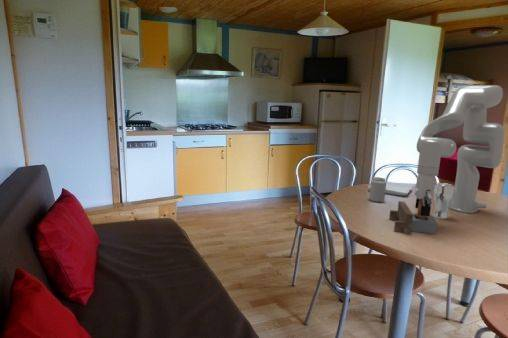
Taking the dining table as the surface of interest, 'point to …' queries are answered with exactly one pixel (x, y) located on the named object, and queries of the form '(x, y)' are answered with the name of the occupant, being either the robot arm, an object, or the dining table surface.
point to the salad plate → (397, 188)
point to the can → (377, 189)
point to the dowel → (420, 210)
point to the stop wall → (402, 218)
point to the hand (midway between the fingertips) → (422, 211)
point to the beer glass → (443, 200)
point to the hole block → (424, 224)
